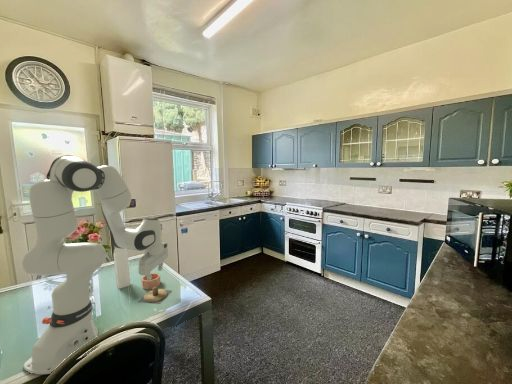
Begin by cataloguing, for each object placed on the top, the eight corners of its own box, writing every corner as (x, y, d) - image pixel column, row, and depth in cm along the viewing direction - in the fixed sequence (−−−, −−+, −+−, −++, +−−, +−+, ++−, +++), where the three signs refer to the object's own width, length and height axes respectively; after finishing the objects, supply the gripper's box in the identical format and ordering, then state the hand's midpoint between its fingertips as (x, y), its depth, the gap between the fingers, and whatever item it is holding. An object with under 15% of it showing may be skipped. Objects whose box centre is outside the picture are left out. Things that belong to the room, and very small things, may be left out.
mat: (160, 304, 115) (159, 303, 115) (137, 302, 117) (137, 301, 117) (172, 291, 127) (172, 290, 127) (152, 289, 129) (151, 288, 129)
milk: (130, 285, 134) (127, 248, 131) (118, 289, 129) (115, 250, 127) (127, 281, 138) (124, 245, 135) (115, 285, 134) (112, 247, 131)
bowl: (154, 290, 128) (153, 281, 127) (138, 289, 129) (138, 280, 129) (163, 281, 137) (162, 273, 136) (148, 280, 138) (148, 272, 138)
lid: (159, 303, 116) (159, 294, 115) (139, 301, 117) (138, 293, 117) (171, 290, 126) (170, 283, 126) (152, 289, 128) (151, 281, 127)
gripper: (146, 258, 108) (148, 286, 110) (169, 242, 128) (171, 265, 130) (133, 257, 109) (136, 285, 111) (158, 241, 129) (160, 265, 131)
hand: (155, 274), depth 121 cm, fingers open, 8 cm apart
